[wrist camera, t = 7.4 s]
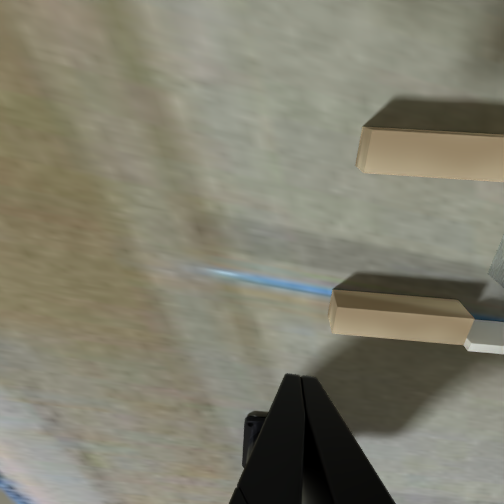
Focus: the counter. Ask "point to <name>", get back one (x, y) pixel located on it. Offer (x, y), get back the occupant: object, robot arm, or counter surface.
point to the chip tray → (486, 337)
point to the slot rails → (421, 165)
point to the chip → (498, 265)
